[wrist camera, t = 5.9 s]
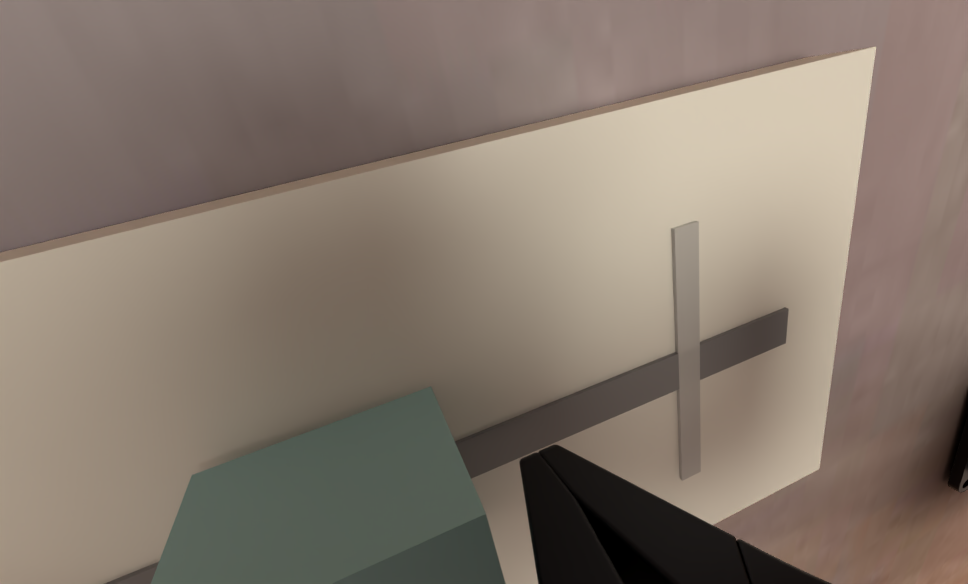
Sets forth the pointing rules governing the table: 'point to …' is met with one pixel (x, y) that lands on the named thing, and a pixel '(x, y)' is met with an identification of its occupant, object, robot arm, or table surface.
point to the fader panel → (452, 317)
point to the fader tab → (339, 509)
